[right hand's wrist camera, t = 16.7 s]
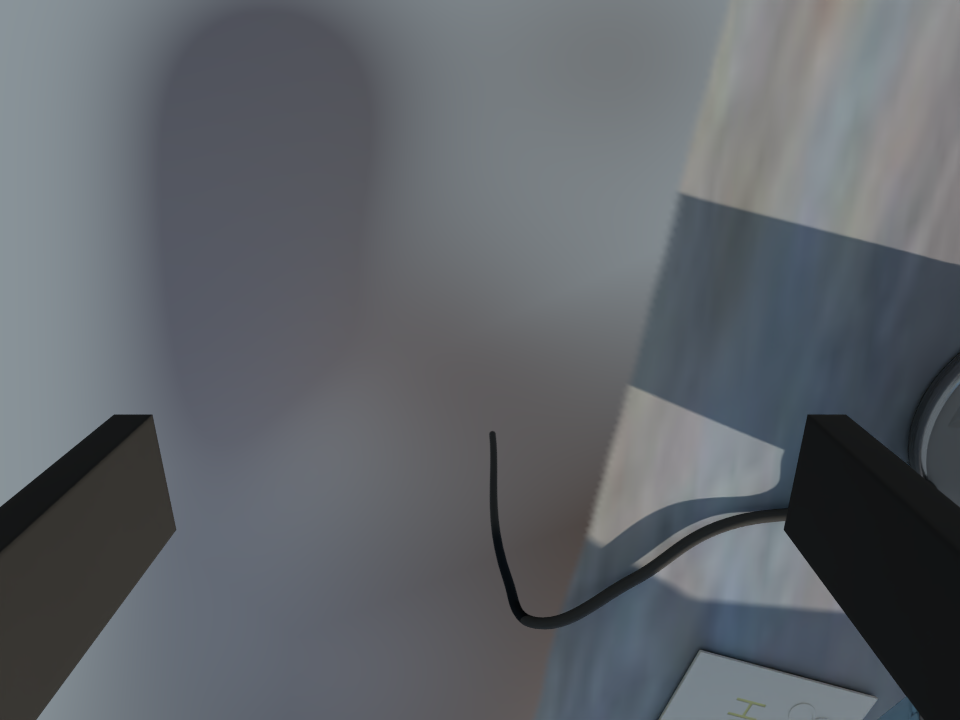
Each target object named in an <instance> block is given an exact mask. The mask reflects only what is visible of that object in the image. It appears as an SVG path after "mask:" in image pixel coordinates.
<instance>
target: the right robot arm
mask: <svg viewBox="0 0 960 720" xmlns="http://www.w3.org/2000/svg"><path fill="white" fill-rule="evenodd" d="M489 439H490V521H491V530H492V538H493V544H494V549H495V554H496V558H497V562H498V566H499V569H500V573H501V576H502V579H503V582H504V586H505V589H506V593H507V598H508V601H509V605H510V608H511V610H512V612H513V614H514V616H515V617H516V619H517V620H518V621H519V622H520V623H522V624H523V625H525V626H527V627H531V628H535V629H554V628H559V627H563V626H565V625H568V624H571V623H573V622H575V621H578V620H579V619H581V618H583V617H585V616H587V615H588V614H590V613H592V612H593V611H595V610H597V609H598V608H600V607H601V606H603V605H604V604H606V603H607V602H609V601H611V600H612V599H614V598H615V597H617V596H618V595H620V594H622V593H623V592H625V591H627V590H628V589H630V588H632V587H634V586H636V585H637V584H639V583H641V582H643V581H645V580H646V579H648V578H650V577H651V576H653V575H654V574H656V573H657V572H659V571H660V570H661V569H663V568H664V567H666V566H667V565H668V564H670V563H671V562H672V561H674V560H675V559H676V558H678V557H679V556H681V555H682V554H683V553H685V552H686V551H688V550H689V549H691V548H692V547H694V546H696V545H697V544H699V543H701V542H703V541H704V540H707V539H709V538H711V537H713V536H715V535H718V534H720V533H723V532H726V531H729V530H732V529H736V528H739V527H743V526H748V525H753V524H760V523H768V522H778V521H785V526H784V531H785V532H786V533H787V535H788V536H789V538H790V539H791V540H792V542H793V543H794V544H795V546H796V547H797V548H798V550H799V551H800V552H801V554H802V555H803V557H804V558H805V559H806V561H807V562H808V563H809V565H810V566H811V567H812V569H813V570H814V571H815V573H816V574H817V576H818V577H819V578H820V580H821V581H822V582H823V584H824V585H825V586H826V588H827V589H828V590H829V592H830V593H831V595H832V596H833V597H834V599H835V600H836V601H837V603H838V604H839V605H840V607H841V608H842V609H843V611H844V612H845V614H846V615H847V616H848V618H849V619H850V620H851V622H852V623H853V624H854V626H855V627H856V628H857V630H858V631H859V633H860V634H861V635H862V637H863V638H864V639H865V641H866V642H867V643H868V645H869V646H870V647H871V649H872V650H873V652H874V653H875V654H876V656H877V657H878V658H879V660H880V661H881V662H882V664H883V665H884V666H885V668H886V669H887V671H888V672H889V673H890V675H891V676H892V677H893V679H894V680H895V681H896V683H897V684H898V685H899V687H900V688H901V690H902V691H903V692H904V694H905V695H906V697H905V698H904V699H903V700H901V701H900V702H899V703H898V704H896V705H895V706H894V707H892V708H891V709H890V710H889V711H887V712H886V713H885V714H884V715H882V716H881V717H880V718H879V719H877V720H960V353H959V354H958V355H957V356H956V357H955V358H954V359H953V360H952V361H951V362H950V363H948V364H947V366H946V367H945V368H944V369H943V370H942V371H941V372H940V373H939V374H938V376H937V377H936V378H935V380H934V381H933V382H932V384H931V385H930V387H929V388H928V390H927V391H926V393H925V395H924V396H923V398H922V400H921V402H920V404H919V406H918V408H917V411H916V413H915V416H914V419H913V422H912V426H911V430H910V436H909V447H908V449H909V461H910V466H909V465H907V464H906V463H905V462H904V461H902V460H901V459H900V458H899V457H897V456H896V455H895V454H894V453H892V452H891V451H890V450H889V449H888V448H886V447H885V446H884V445H883V444H881V443H880V442H879V441H878V440H876V439H875V438H874V437H873V436H872V435H870V434H869V433H868V432H867V431H865V430H864V429H863V428H862V427H860V426H859V425H858V424H857V423H856V422H854V421H853V420H852V419H851V418H849V417H848V416H847V415H807V420H806V425H805V430H804V435H803V439H802V444H801V449H800V454H799V459H798V464H797V468H796V473H795V478H794V483H793V488H792V492H791V497H790V502H789V507H788V508H784V509H773V510H764V511H756V512H750V513H744V514H740V515H735V516H732V517H728V518H725V519H722V520H719V521H716V522H714V523H711V524H709V525H707V526H704V527H702V528H700V529H698V530H696V531H695V532H693V533H691V534H689V535H688V536H686V537H684V538H683V539H681V540H680V541H678V542H677V543H676V544H674V545H673V546H671V547H670V548H669V549H667V550H666V551H665V552H663V553H662V554H661V555H659V556H658V557H657V558H655V559H654V560H653V561H651V562H650V563H648V564H647V565H645V566H644V567H642V568H640V569H639V570H637V571H635V572H634V573H632V574H630V575H628V576H627V577H625V578H623V579H621V580H619V581H618V582H616V583H614V584H613V585H611V586H610V587H608V588H607V589H605V590H603V591H602V592H600V593H599V594H597V595H596V596H594V597H593V598H591V599H589V600H588V601H586V602H585V603H583V604H581V605H580V606H578V607H576V608H574V609H572V610H570V611H568V612H566V613H563V614H560V615H557V616H552V617H544V618H541V617H533V616H531V615H529V614H527V613H526V612H525V611H524V610H523V609H522V607H521V605H520V602H519V599H518V595H517V591H516V588H515V584H514V581H513V578H512V575H511V572H510V569H509V566H508V563H507V560H506V556H505V552H504V548H503V543H502V538H501V533H500V525H499V516H498V499H497V442H496V433H495V432H494V431H491V432H490V433H489ZM175 531H176V526H175V521H174V517H173V512H172V507H171V502H170V497H169V493H168V488H167V483H166V478H165V473H164V468H163V464H162V459H161V454H160V449H159V444H158V440H157V435H156V430H155V425H154V420H153V415H113V416H112V417H111V418H109V419H108V420H107V421H106V422H104V423H103V424H102V425H101V426H100V427H98V428H97V429H96V430H95V431H93V432H92V433H91V434H90V435H88V436H87V437H86V438H85V439H84V440H82V441H81V442H80V443H79V444H77V445H76V446H75V447H74V448H72V449H71V450H70V451H69V452H68V453H66V454H65V455H64V456H63V457H61V458H60V459H59V460H58V461H56V462H55V463H54V464H53V465H52V466H50V467H49V468H48V469H47V470H45V471H44V472H43V473H42V474H40V475H39V476H38V477H37V478H35V479H34V480H33V481H32V482H31V483H29V484H28V485H27V486H26V487H24V488H23V489H22V490H21V491H20V492H18V493H17V494H16V495H15V496H13V497H12V498H11V499H10V500H8V501H7V502H6V503H5V504H3V505H2V506H1V507H0V720H36V719H37V718H38V717H39V715H40V714H41V713H42V711H43V710H44V709H45V707H46V706H47V704H48V703H49V702H50V700H51V699H52V698H53V696H54V695H55V694H56V692H57V691H58V690H59V688H60V687H61V685H62V684H63V683H64V681H65V680H66V679H67V677H68V676H69V675H70V673H71V672H72V671H73V669H74V668H75V666H76V665H77V664H78V662H79V661H80V660H81V658H82V657H83V656H84V654H85V653H86V652H87V650H88V649H89V647H90V646H91V645H92V643H93V642H94V641H95V639H96V638H97V637H98V635H99V634H100V632H101V631H102V630H103V628H104V627H105V626H106V624H107V623H108V622H109V620H110V619H111V618H112V616H113V615H114V614H115V612H116V611H117V609H118V608H119V607H120V605H121V604H122V603H123V601H124V600H125V599H126V597H127V596H128V594H129V593H130V592H131V590H132V589H133V588H134V586H135V585H136V584H137V582H138V581H139V580H140V578H141V577H142V575H143V574H144V573H145V571H146V570H147V569H148V567H149V566H150V565H151V563H152V562H153V561H154V559H155V558H156V557H157V555H158V554H159V552H160V551H161V550H162V548H163V547H164V546H165V544H166V543H167V542H168V540H169V539H170V538H171V536H172V535H173V533H174V532H175Z"/></svg>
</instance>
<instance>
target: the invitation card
mask: <svg viewBox="0 0 960 720" xmlns="http://www.w3.org/2000/svg"><path fill="white" fill-rule="evenodd" d="M877 700H878V698H877V697H875V696H871V695H867V694H864V693H860V692H856V691H852V690H849V689H845V688H841V687H837V686H834V685H830V684H826V683H823V682H819V681H815V680H811V679H808V678H804V677H800V676H796V675H793V674H789V673H785V672H781V671H778V670H774V669H770V668H767V667H763V666H759V665H755V664H752V663H748V662H744V661H740V660H737V659H733V658H729V657H725V656H722V655H718V654H714V653H711V652H707V651H703V650H699V652H698V654H697V655H696V657H695V659H694V660H693V662H692V664H691V665H690V667H689V669H688V671H687V672H686V674H685V676H684V677H683V679H682V681H681V682H680V684H679V686H678V687H677V689H676V691H675V692H674V694H673V696H672V697H671V699H670V701H669V703H668V704H667V706H666V708H665V709H664V711H663V713H662V714H661V716H660V718H659V719H658V720H863V718H864V717H865V716H866V715H867V713H868V712H869V711H870V709H871V708H872V707H873V705H874V704H875V703H876V701H877Z"/></svg>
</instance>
